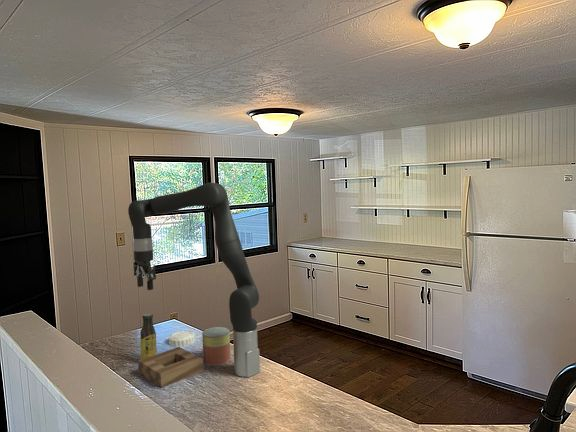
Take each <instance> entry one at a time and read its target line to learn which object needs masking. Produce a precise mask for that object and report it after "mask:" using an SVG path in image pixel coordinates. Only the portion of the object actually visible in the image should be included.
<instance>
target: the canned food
mask: <svg viewBox="0 0 576 432" xmlns="http://www.w3.org/2000/svg"><path fill="white" fill-rule="evenodd" d="M230 333H231V331H230V329H229V328H228V327H223V326H216V327H215V326H213V327H210V328H206V329H204V330H203V331H202V332H201V335H202V336H201V337H202V353H203V354H202V356H203V357H202V359H203V364H205V365H207V366H213V367H215V366H222V365H225V364H228V363H229V362H230V361H231V339H230V336H231V335H230Z"/></svg>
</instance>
